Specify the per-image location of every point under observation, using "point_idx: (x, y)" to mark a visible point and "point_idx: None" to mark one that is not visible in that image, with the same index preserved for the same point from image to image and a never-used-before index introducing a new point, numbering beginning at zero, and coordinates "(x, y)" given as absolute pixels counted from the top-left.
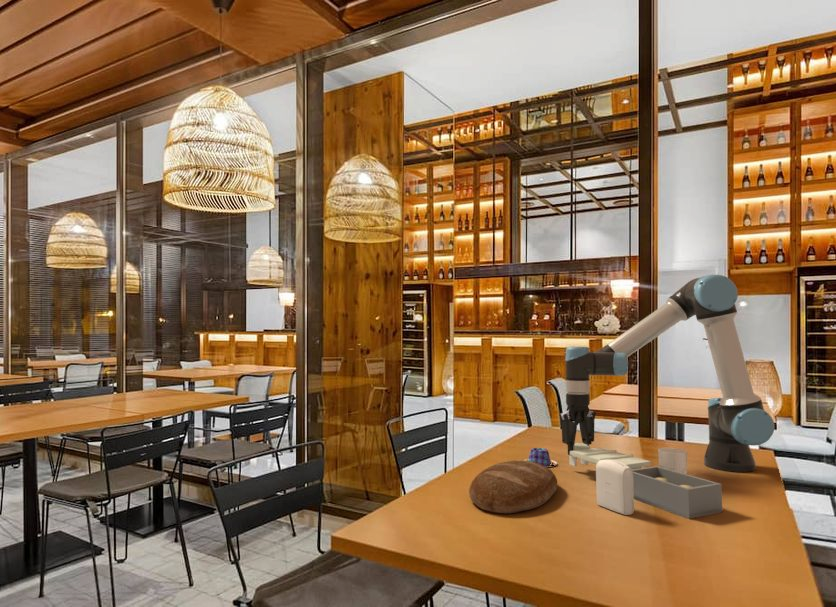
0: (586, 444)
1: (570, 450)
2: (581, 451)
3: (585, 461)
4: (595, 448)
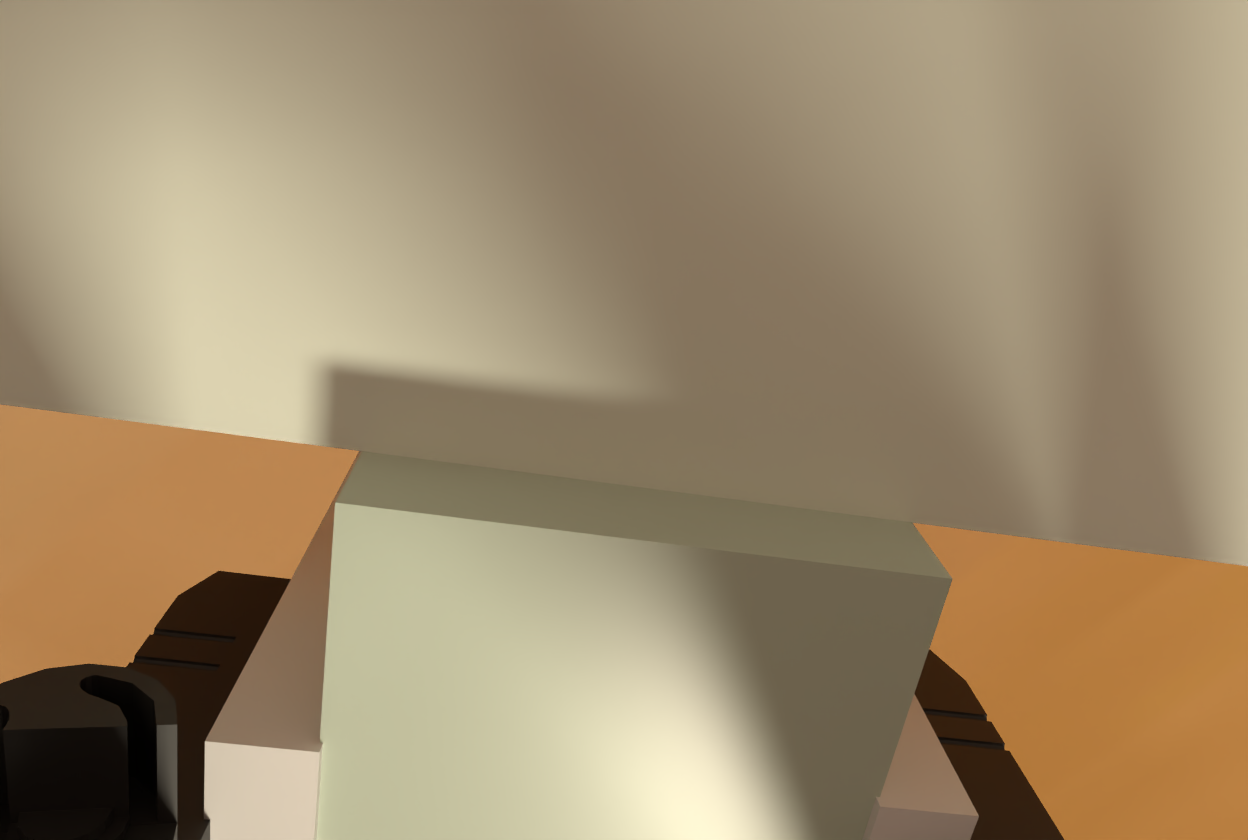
0: (226, 791)
1: (1015, 766)
2: (1168, 288)
3: None
4: (66, 353)
